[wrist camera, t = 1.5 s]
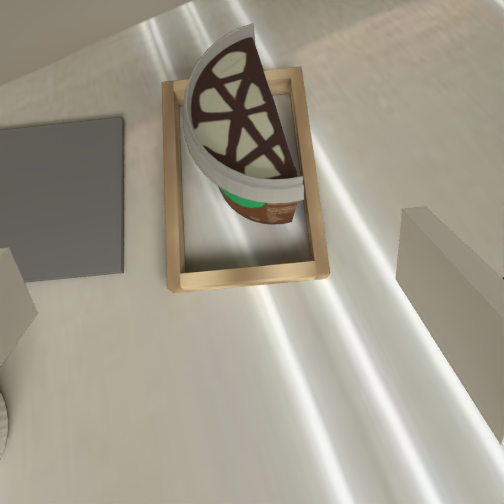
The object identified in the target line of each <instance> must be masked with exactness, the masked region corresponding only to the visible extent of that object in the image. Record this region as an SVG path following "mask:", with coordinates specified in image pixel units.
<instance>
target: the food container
mask: <svg viewBox="0 0 504 504" xmlns="http://www.w3.org/2000/svg"><path fill="white" fill-rule="evenodd" d="M183 128H184V135H185V140H186V143H187V146H188V149H189V152H190V154H191V156H192V157H193V159H194V161H195V163H196V164H197V166H198V167H199V168H200V169H201V170H202V172H203V173H204V174H205V175H206V176H207V177H208V178H209V179H210V180H212V181H213V182H214V183H215V184H216V185H218V187H219V189H220V191H221V193H222V195H223V197H224V198H225V200H226V202H227V203H228V204H229V205H230V206H231V208H232V209H234V210H235V211H236V212H237V213H238V214H240V215H242V216H243V217H245V218H247V219H250V220H252V221H255V222H259V223H263V224H284V223H289V222H292V219H293V216H294V212H295V208H296V205H297V201H300V200H304V185H303V176H301V177H298V176H297V172H296V169H295V167H294V164H293V162H292V159H291V156H290V152H289V149H288V146H287V143H286V139H285V136H284V133H283V130H282V127H281V123H280V120H279V116H278V113H277V110H276V106H275V103H274V100H273V97H272V94H271V91H270V89H269V86H268V83H267V80H266V77H265V74H264V71H263V67H262V64H261V61H260V58H259V55H258V52H257V49H256V46H255V36H254V25H253V23H252V24H249V25H246V26H243V27H240V28H238V29H236V30H234V31H232V32H230V33H228V34H227V35H225V36H224V37H222V38H221V39H219V40H218V41H216V42H215V43H214V44H213V45H212V46H211V47H210V48H208V49H207V51H206V52H205V53H204V54H203V55H202V57H201V58H200V59H199V61H198V62H197V64H196V66H195V67H194V69H193V71H192V73H191V76H190V78H189V81H188V84H187V87H186V91H185V95H184V100H183Z"/></svg>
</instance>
